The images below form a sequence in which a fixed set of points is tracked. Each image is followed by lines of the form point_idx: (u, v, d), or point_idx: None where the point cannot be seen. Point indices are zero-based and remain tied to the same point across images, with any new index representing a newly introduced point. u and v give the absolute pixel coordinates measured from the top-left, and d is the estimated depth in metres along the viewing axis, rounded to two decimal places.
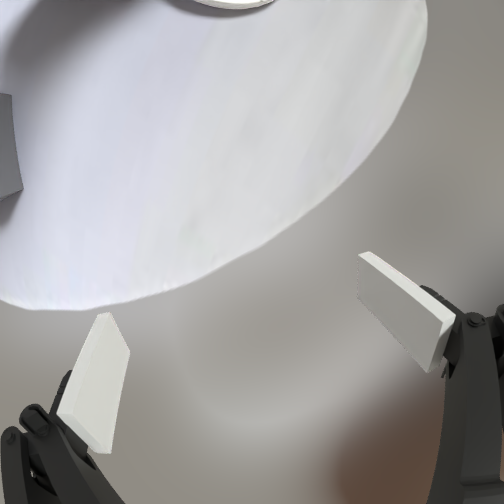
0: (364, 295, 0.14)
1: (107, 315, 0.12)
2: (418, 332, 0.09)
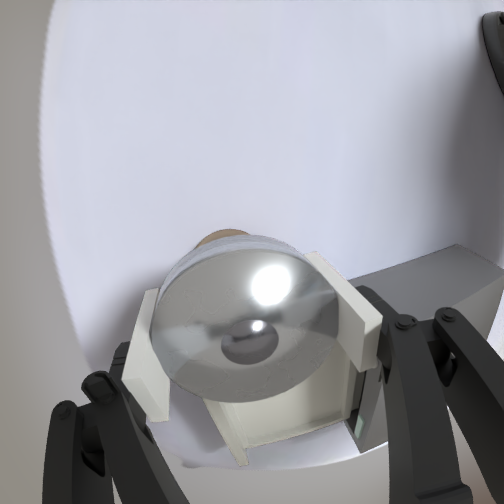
0: None
1: (156, 290, 0.14)
2: (349, 331, 0.10)
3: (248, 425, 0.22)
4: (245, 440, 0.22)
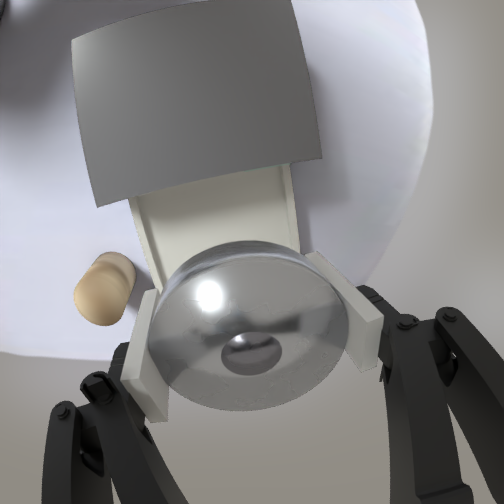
0: None
1: (155, 291, 0.14)
2: (350, 331, 0.10)
3: None
4: None
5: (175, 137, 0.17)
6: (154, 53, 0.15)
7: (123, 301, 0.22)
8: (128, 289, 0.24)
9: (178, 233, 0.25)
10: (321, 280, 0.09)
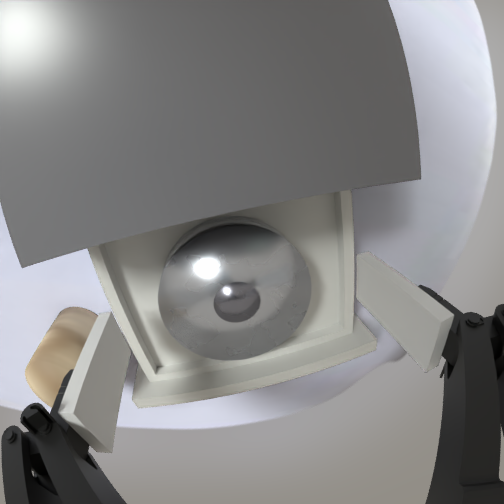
0: (363, 295, 0.14)
1: (108, 315, 0.12)
2: (416, 332, 0.09)
3: (302, 327, 0.18)
4: (328, 336, 0.18)
5: (150, 127, 0.08)
6: None
7: None
8: None
9: None
10: (286, 240, 0.13)
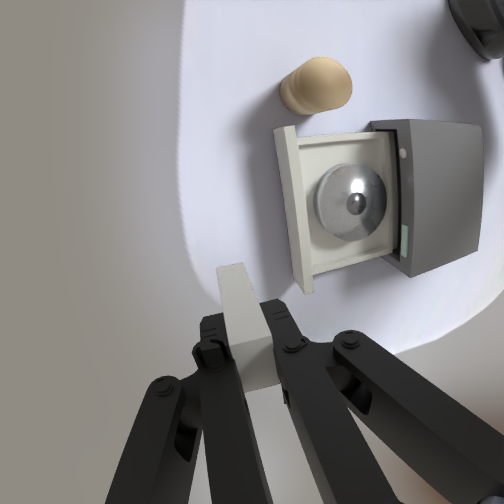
0: None
1: (228, 268, 0.15)
2: None
3: (312, 241, 0.29)
4: (310, 259, 0.29)
5: (435, 184, 0.24)
6: (468, 176, 0.24)
7: (326, 108, 0.21)
8: (316, 111, 0.23)
9: None
10: (377, 226, 0.28)
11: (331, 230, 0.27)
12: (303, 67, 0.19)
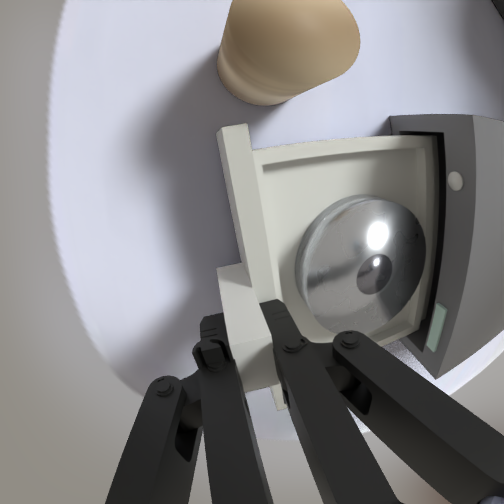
0: None
1: (228, 267, 0.15)
2: None
3: None
4: None
5: (498, 236, 0.11)
6: None
7: (299, 82, 0.08)
8: (281, 93, 0.10)
9: None
10: (404, 305, 0.15)
11: (325, 324, 0.14)
12: None
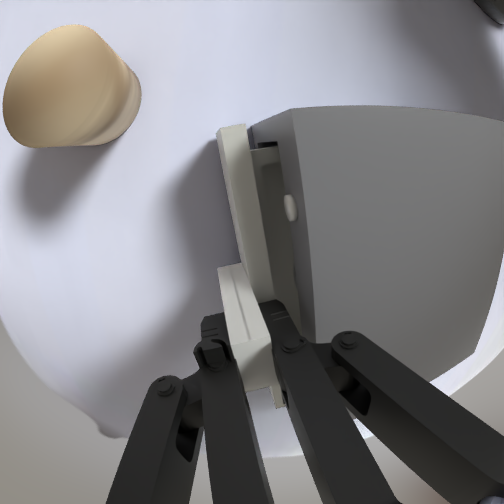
0: None
1: (229, 267, 0.15)
2: None
3: None
4: None
5: (386, 279, 0.11)
6: (477, 237, 0.11)
7: (47, 145, 0.07)
8: (71, 145, 0.09)
9: None
10: None
11: None
12: (11, 74, 0.06)
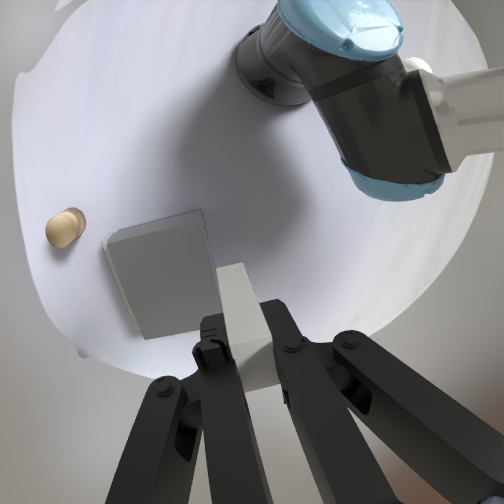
0: None
1: (228, 267, 0.15)
2: None
3: None
4: None
5: (141, 282, 0.38)
6: (184, 269, 0.39)
7: None
8: None
9: None
10: None
11: None
12: (46, 227, 0.33)
